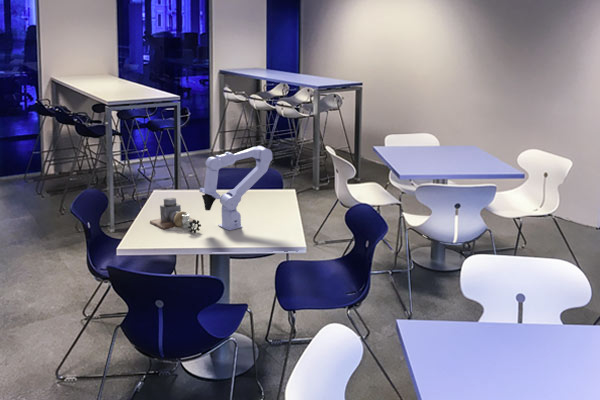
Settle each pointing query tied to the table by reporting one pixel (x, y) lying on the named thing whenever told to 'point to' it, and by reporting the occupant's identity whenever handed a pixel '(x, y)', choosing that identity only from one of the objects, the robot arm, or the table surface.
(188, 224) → the valve
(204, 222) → the table surface
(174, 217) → the pipe stand
